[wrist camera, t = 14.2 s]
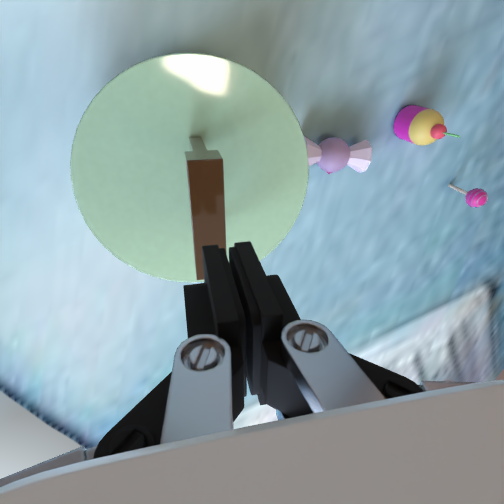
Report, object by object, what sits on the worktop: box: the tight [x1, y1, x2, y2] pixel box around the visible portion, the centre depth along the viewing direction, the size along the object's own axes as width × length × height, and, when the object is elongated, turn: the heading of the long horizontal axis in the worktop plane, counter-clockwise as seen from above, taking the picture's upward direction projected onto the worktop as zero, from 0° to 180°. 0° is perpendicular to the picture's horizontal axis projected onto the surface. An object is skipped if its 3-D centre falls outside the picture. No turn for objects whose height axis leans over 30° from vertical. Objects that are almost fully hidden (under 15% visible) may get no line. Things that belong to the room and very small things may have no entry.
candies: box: [304, 105, 488, 208], centre depth 30 cm, size 18×8×6 cm, turn 84°
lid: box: [70, 52, 309, 282], centre depth 19 cm, size 14×14×6 cm
